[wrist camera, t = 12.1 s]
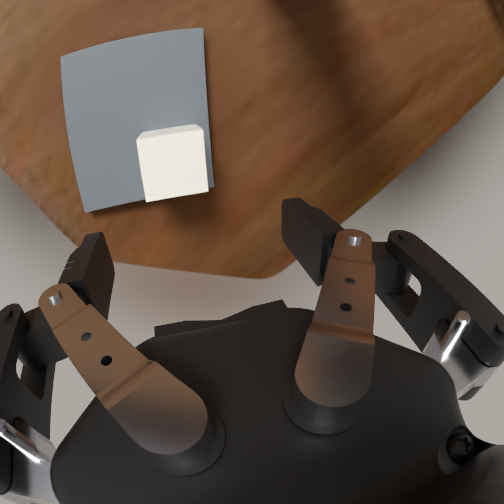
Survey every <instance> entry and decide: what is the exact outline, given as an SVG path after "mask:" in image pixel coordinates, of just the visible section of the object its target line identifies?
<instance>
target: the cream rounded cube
mask: <svg viewBox="0 0 504 504" xmlns="http://www.w3.org/2000/svg"><path fill="white" fill-rule="evenodd" d="M136 142H137V149H138V156H139V163H140V169H141V176H142V182H143V188H144V193H145V199H146V202H151V201H156V200H162V199H167V198H173V197H179V196H185V195H191V194H197V193H203V192H209V191H208V180H207V169H206V158H205V145H204V132H203V129H202V128H201V127H199V126H198V125H196V124H192V125H184V126H177V127H171V128H164V129H158V130H152V131H147V132H142V133H141V134H140V136H139V137H138V138H137V140H136Z"/></svg>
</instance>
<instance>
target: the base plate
mask: <svg viewBox="0 0 504 504" xmlns="http://www.w3.org/2000/svg"><path fill="white" fill-rule="evenodd" d="M61 77H62V91H63V101H64V110H65V118H66V125H67V132H68V138H69V144H70V150H71V155H72V160H73V165H74V170H75V174H76V179H77V183H78V187H79V191H80V195H81V199H82V203H83V207H84V210H85V213H86V212H90V211H94V210H99V209H103V208H107V207H112V206H116V205H121V204H125V203H130V202H135V201H139V200H144V199H145V193H144V188H143V182H142V176H141V169H140V163H139V156H138V149H137V142H136V140H137V138H138V137H139V136H140V134H141V133H142V132H147V131H152V130H158V129H164V128H171V127H177V126H184V125H192V124H196V125H198V126H199V127H201V128H202V129H203V132H204V145H205V158H206V169H207V180H208V188H212V187H214V180H213V169H212V158H211V146H210V133H209V120H208V107H207V92H206V76H205V58H204V37H203V28H191V29H180V30H172V31H164V32H157V33H150V34H145V35H139V36H134V37H129V38H124V39H120V40H115V41H111V42H107V43H103V44H100V45H96V46H92V47H89V48H86V49H82V50H79V51H76V52H73V53H70V54H67V55H64V56H62V57H61Z"/></svg>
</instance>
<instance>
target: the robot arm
mask: <svg viewBox="0 0 504 504" xmlns="http://www.w3.org/2000/svg"><path fill="white" fill-rule="evenodd" d="M282 238H283V241H284V243H285V245H286V246H287V247H288V249H289V250H290V251H291V253H292V254H293V255H294V256H295V258H296V259H297V260H298V262H299V263H300V264H301V265H302V267H303V268H304V269H305V271H306V272H307V273H308V274H309V276H310V277H311V278H312V280H313V281H314V282H315V284H316V285H317V286H320V285H322V288H321V291H320V295H319V298H318V302H317V305H316V309H315V311H313V310H309V309H302V308H287V307H286V305H285V303H284V301H283V300H278V301H274V302H270V303H266V304H262V305H258V306H253V307H250V308H248V309H246V310H244V311H241V312H239V313H237V314H234V315H232V316H230V317H227V318H225V319H222V320H210V321H209V320H208V321H182V322H177V323H172V324H166V325H161V326H155V327H154V329H155V337H152V338H150V339H148V340H146V341H144V342H143V343H141V344H140V345H138V346H137V347H134V346H132V344H130V343H129V342H128V341H127V340H126V339H125V338H124V337H123V336H122V335H121V334H120V333H119V332H118V331H117V330H116V329H115V328H114V327H113V326H112V325H111V324H110V323H109V322H108V321H107V319H108V312H109V305H110V299H111V293H112V288H113V281H114V276H115V275H114V274H115V272H114V265H113V262H112V259H111V256H110V253H109V250H108V247H107V243H106V240H105V237H104V234H103V233H102V232H97V233H92V234H88V235H85V237H84V239H83V242H82V244H81V246H80V248H77V249H76V250H75V251H74V252H73V253H72V254H71V255H70V257H69V259H68V261H67V264H66V266H65V270H63V273H62V275H61V278H60V280H59V282H58V284H56V285H54V286H52V287H50V288H48V289H47V290H46V291H45V292H44V293H43V294H42V295H41V297H40V299H39V307H37V308H35V309H32V310H30V311H28V312H26V313H24V311H23V310H22V308H21V306H20V305H19V304H10V305H8V306H6V307H5V308H3V309H2V310H1V311H0V497H2V498H4V499H7V500H9V501H11V502H13V503H16V504H504V445H495V444H491V443H488V442H485V441H482V440H480V439H478V438H477V437H475V436H474V435H473V434H472V433H471V432H470V431H469V429H468V428H467V426H466V424H465V422H464V420H463V417H462V414H461V411H460V408H459V404H458V399H459V400H469V399H471V398H472V397H473V396H474V395H475V394H476V393H477V392H478V391H479V390H480V389H481V387H482V386H483V385H484V384H485V383H486V382H487V381H488V379H489V378H490V377H491V376H492V375H493V373H494V372H495V371H496V370H497V368H498V367H499V366H500V365H501V363H502V362H503V361H504V315H503V314H502V313H501V312H500V311H499V310H498V309H497V308H496V307H495V306H494V305H493V304H492V303H491V302H490V301H489V300H488V299H487V298H486V297H485V296H484V295H483V294H482V293H481V292H480V291H479V290H478V289H477V288H476V287H475V286H474V285H473V284H472V283H471V282H470V281H468V279H466V278H465V277H464V276H463V275H462V274H461V273H460V272H459V271H458V270H456V269H455V268H454V267H453V266H452V265H451V264H450V263H448V262H447V261H446V260H445V259H444V258H443V257H441V256H440V255H439V254H438V253H437V252H436V251H434V250H433V249H432V248H431V247H429V246H428V245H427V244H426V243H425V242H423V241H422V240H421V239H419V238H418V237H417V236H416V235H414V234H412V233H410V232H407V231H403V230H394V231H391V232H390V233H389V236H388V241H387V242H372V240H371V237H370V236H369V235H368V234H366V233H365V232H362V231H359V230H355V229H344V228H342V227H341V226H340V225H339V224H338V223H336V222H335V221H334V220H332V218H330V217H329V216H327V214H325V213H324V212H323V211H322V210H320V209H318V208H315V207H313V206H310V205H309V204H307V203H306V202H305V201H304V200H302V199H301V198H291V199H284V200H283V202H282ZM411 274H413V275H414V276H415V277H416V278H417V279H418V280H419V282H420V284H421V294H420V297H419V296H418V295H417V294H416V292H414V290H413V289H412V288H411V287H410V286H409V285H408V283H409V280H410V277H411ZM375 294H377V296H378V297H379V298H380V300H381V301H382V302H383V303H384V305H385V306H386V307H387V308H388V309H389V311H390V312H391V313H392V314H393V316H394V317H395V318H396V320H397V321H398V322H399V323H400V325H401V326H402V327H403V328H404V330H405V331H406V332H407V334H408V335H409V336H410V337H411V339H412V340H413V341H414V343H415V344H416V345H417V347H418V348H419V349H420V351H421V352H422V353H423V354H421V353H418V352H416V351H413V350H411V349H408V348H406V347H403V346H400V345H397V344H395V343H393V342H390V341H388V340H385V339H383V338H380V337H378V336H375V335H373V323H374V304H375ZM67 357H69V359H70V360H71V362H72V363H73V365H74V366H75V368H76V369H77V371H78V372H79V373H80V375H81V376H82V378H83V379H84V380H85V382H86V383H87V384H88V386H89V387H90V388H91V390H92V391H93V392H94V394H95V395H96V396H95V397H94V399H93V400H92V401H91V403H90V404H89V405H88V407H87V408H86V409H85V411H84V412H83V413H82V415H81V416H80V417H79V419H78V420H77V421H76V423H75V424H74V426H73V427H72V428H71V430H70V432H68V434H67V435H66V437H65V438H64V439H63V441H62V442H61V444H60V445H59V446H58V448H57V450H56V449H55V447H54V445H53V444H52V442H51V441H50V416H51V401H52V389H53V380H54V372H55V364H56V362H58V361H60V360H63V359H65V358H67ZM18 358H19V360H20V361H21V362H22V363H23V369H22V373H21V378H20V379H19V378H18V375H17V373H16V362H17V359H18Z"/></svg>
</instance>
